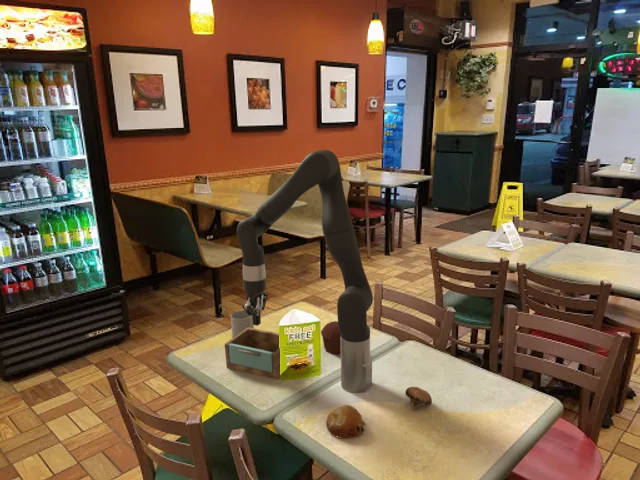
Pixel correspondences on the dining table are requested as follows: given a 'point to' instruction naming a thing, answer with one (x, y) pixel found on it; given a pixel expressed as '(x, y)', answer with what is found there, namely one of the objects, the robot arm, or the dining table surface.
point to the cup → (240, 322)
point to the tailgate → (251, 357)
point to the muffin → (332, 338)
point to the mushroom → (418, 397)
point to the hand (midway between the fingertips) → (256, 324)
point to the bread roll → (345, 422)
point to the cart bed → (257, 341)
